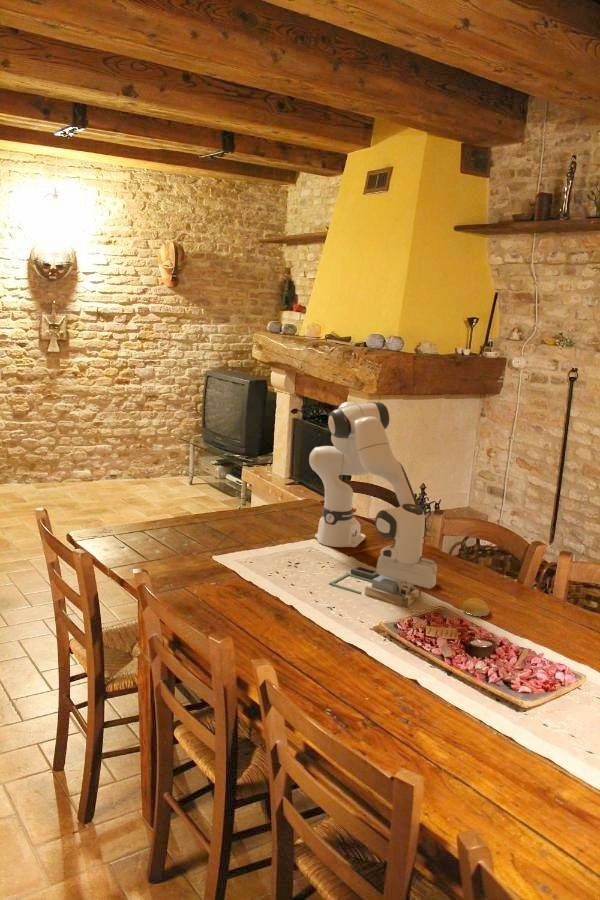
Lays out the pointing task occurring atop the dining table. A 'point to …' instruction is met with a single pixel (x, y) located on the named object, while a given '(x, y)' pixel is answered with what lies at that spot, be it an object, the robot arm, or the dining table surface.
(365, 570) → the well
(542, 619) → the dining table surface
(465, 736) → the dining table surface
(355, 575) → the frame
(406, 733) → the dining table surface
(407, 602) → the beige c-shaped frame
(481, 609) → the bread roll
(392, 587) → the block
